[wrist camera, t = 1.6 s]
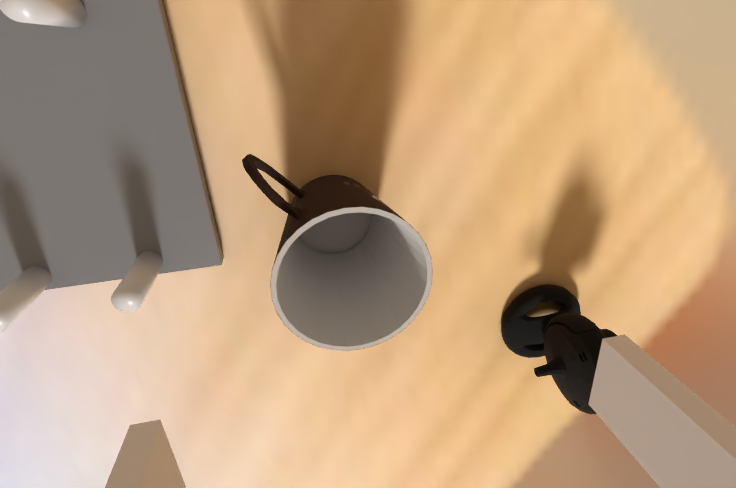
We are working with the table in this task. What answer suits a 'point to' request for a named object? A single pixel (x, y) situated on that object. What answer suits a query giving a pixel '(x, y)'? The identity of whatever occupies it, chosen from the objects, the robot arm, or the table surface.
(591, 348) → the webcam
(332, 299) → the coffee mug
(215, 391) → the table surface
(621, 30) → the table surface
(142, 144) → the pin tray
